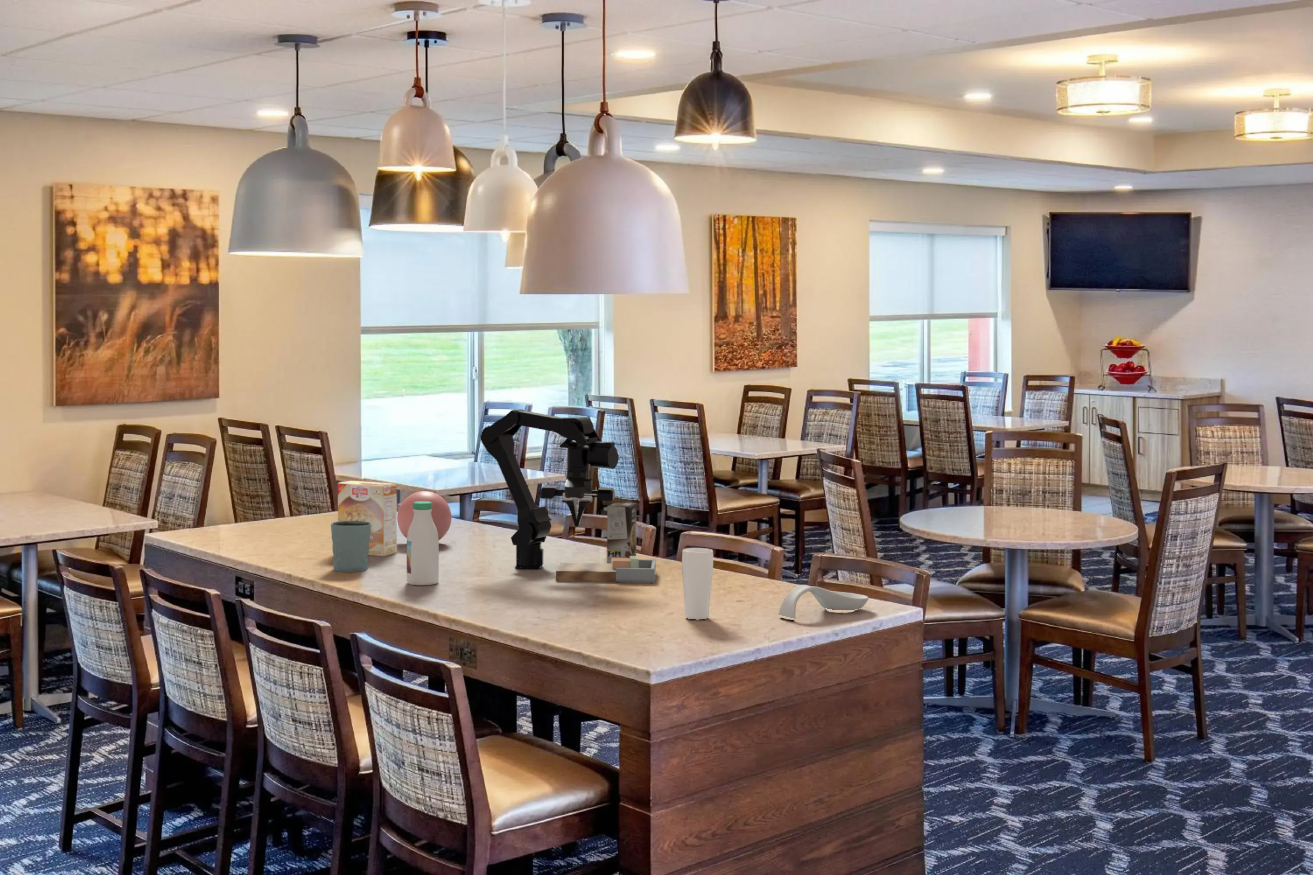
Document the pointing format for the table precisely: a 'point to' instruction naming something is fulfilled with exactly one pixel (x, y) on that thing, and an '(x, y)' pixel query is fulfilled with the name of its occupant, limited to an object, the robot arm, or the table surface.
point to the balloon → (438, 513)
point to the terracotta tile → (620, 563)
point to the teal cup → (350, 545)
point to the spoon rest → (822, 600)
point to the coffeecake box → (371, 512)
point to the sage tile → (634, 562)
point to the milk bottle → (422, 547)
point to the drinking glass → (697, 581)
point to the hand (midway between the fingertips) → (576, 526)
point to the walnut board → (586, 572)
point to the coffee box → (621, 530)
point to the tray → (637, 573)
